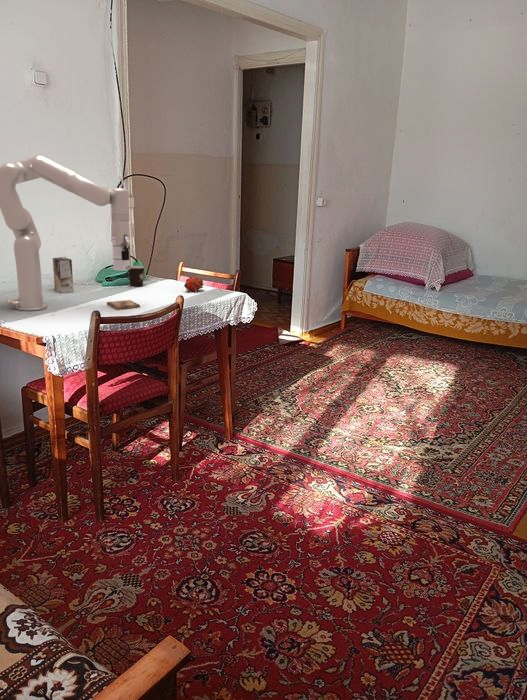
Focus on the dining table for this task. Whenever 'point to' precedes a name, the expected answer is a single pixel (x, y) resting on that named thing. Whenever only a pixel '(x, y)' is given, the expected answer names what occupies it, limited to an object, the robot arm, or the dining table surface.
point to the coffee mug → (136, 276)
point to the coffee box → (63, 274)
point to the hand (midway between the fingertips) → (121, 258)
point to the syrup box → (119, 257)
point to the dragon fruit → (193, 284)
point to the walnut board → (123, 304)
